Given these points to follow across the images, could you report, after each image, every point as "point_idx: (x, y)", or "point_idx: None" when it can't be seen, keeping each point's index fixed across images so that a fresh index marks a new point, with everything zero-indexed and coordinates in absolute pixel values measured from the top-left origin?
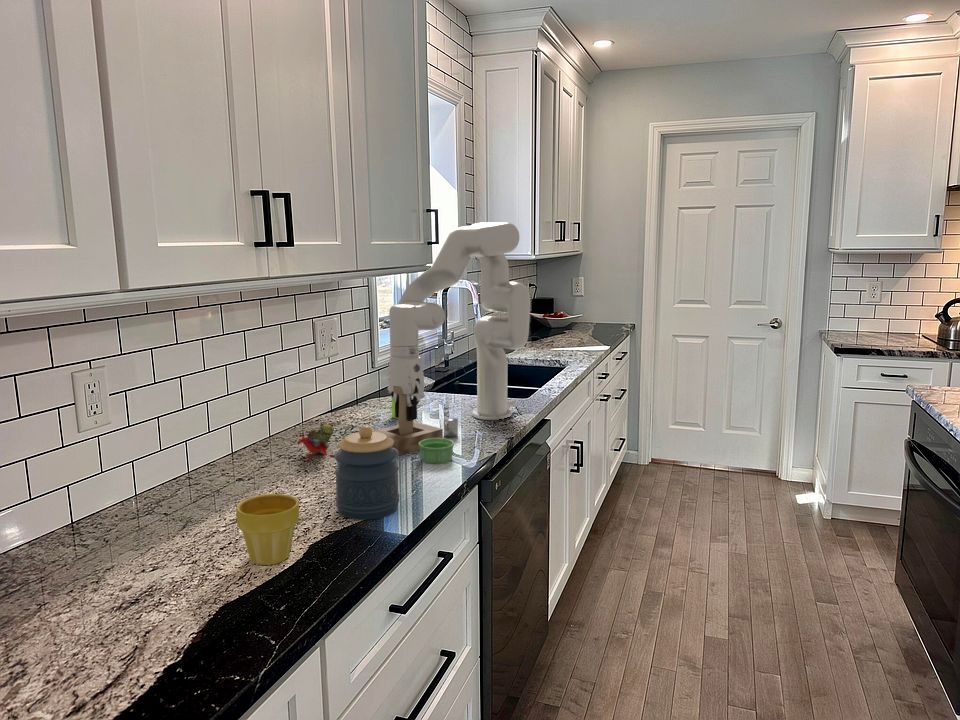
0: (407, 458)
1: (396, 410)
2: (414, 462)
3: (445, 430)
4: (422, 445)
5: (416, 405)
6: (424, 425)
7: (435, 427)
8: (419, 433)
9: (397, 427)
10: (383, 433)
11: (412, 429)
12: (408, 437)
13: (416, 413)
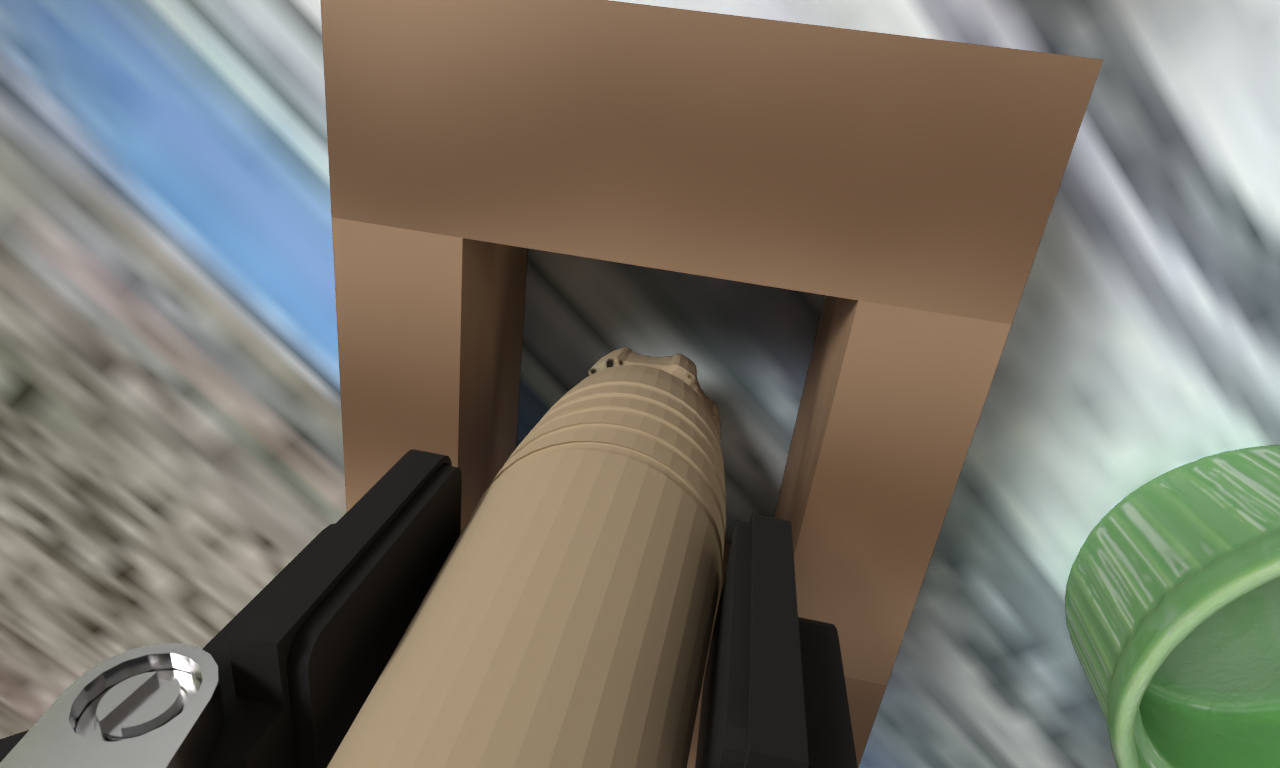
0: (944, 683)
1: None
2: (1071, 734)
3: None
4: (1138, 719)
5: (806, 752)
6: (666, 84)
7: (920, 63)
8: (884, 481)
9: (431, 410)
10: None
11: (719, 451)
12: (862, 668)
13: (791, 592)
